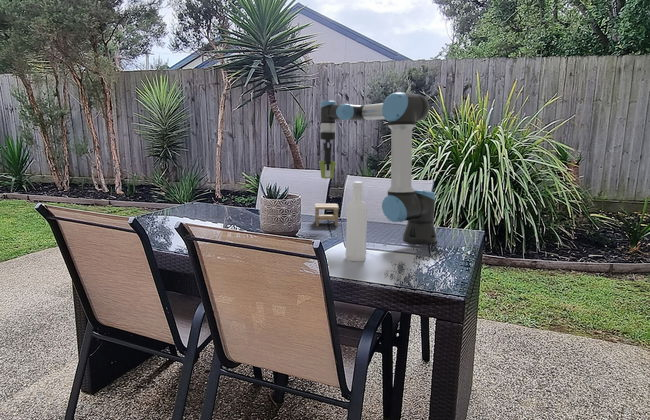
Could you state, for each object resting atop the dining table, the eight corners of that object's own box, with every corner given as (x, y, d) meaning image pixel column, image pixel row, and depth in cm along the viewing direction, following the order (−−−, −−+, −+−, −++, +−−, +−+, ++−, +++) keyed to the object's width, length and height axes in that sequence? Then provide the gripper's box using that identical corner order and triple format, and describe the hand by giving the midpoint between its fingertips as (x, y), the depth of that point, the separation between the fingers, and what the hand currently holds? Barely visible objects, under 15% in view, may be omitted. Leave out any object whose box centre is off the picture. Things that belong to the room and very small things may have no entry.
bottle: (346, 255, 172) (348, 180, 167) (366, 256, 172) (368, 181, 166) (344, 261, 165) (346, 183, 159) (365, 262, 164) (368, 183, 158)
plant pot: (339, 178, 227) (339, 161, 225) (330, 179, 219) (331, 162, 217) (324, 176, 231) (324, 160, 230) (314, 178, 223) (315, 161, 222)
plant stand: (338, 226, 224) (338, 207, 222) (315, 226, 223) (315, 207, 222) (336, 221, 236) (336, 203, 234) (314, 221, 235) (314, 203, 233)
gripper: (319, 131, 231) (319, 173, 235) (321, 131, 210) (320, 178, 214) (333, 131, 231) (332, 173, 236) (336, 132, 210) (335, 178, 214)
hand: (327, 175), depth 225 cm, fingers closed on plant pot, 9 cm apart
